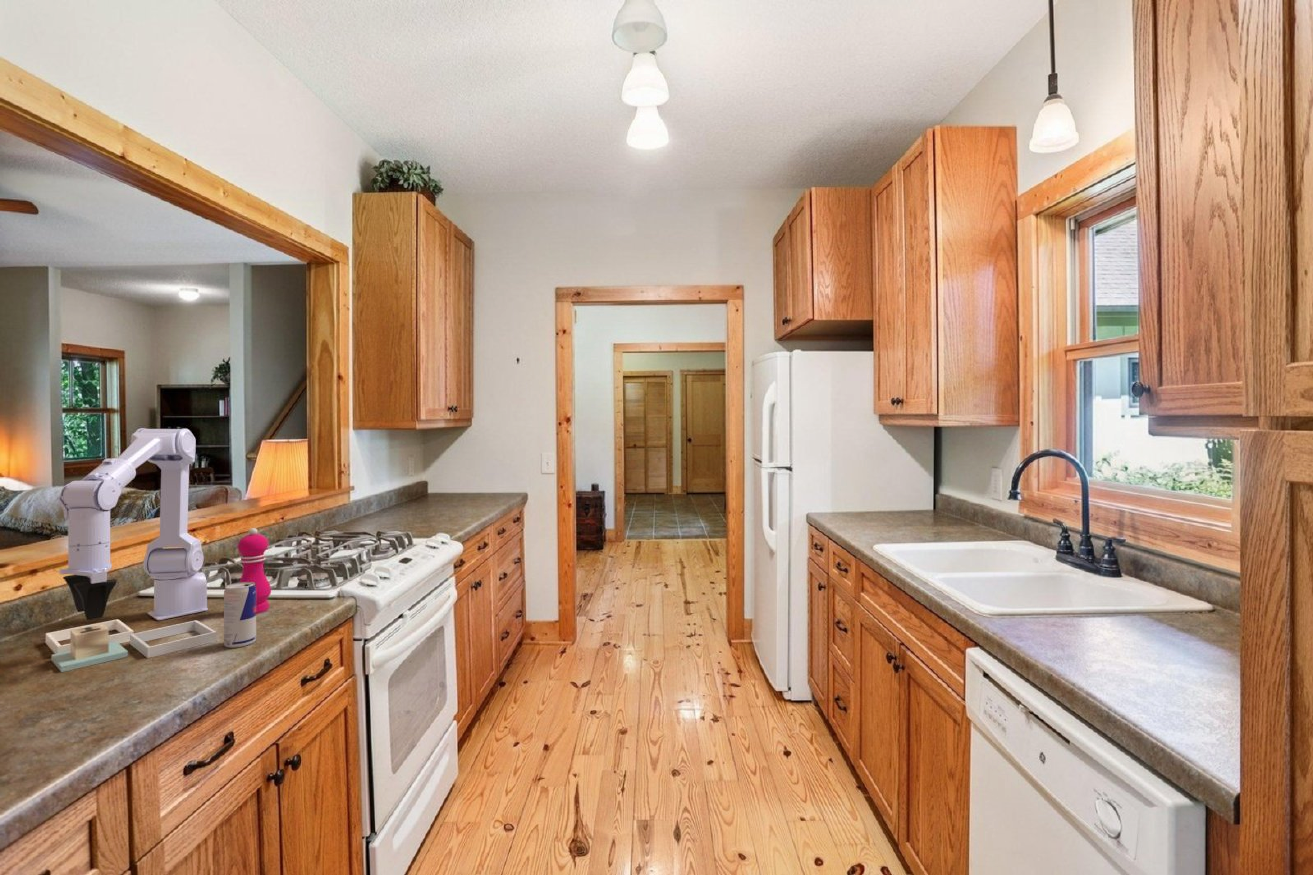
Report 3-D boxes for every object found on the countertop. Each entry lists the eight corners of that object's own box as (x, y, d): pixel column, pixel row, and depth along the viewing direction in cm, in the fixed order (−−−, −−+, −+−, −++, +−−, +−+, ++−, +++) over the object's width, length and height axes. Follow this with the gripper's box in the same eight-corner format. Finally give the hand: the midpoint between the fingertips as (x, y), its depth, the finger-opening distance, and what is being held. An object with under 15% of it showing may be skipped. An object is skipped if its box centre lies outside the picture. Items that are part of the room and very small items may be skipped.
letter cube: (102, 647, 113) (102, 623, 113) (108, 652, 110) (108, 628, 110) (70, 654, 109) (70, 629, 109) (75, 659, 107) (75, 635, 107)
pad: (115, 646, 116) (115, 641, 116) (127, 656, 111) (127, 651, 111) (51, 660, 109) (51, 654, 109) (61, 672, 104) (61, 666, 104)
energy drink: (262, 640, 120) (262, 583, 120) (236, 649, 115) (236, 589, 115) (244, 637, 122) (244, 580, 122) (217, 646, 117) (217, 587, 117)
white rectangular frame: (196, 629, 126) (196, 620, 126) (216, 641, 119) (216, 631, 119) (130, 644, 117) (130, 634, 117) (147, 658, 110) (147, 647, 110)
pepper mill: (236, 617, 134) (236, 531, 134) (233, 610, 140) (233, 527, 139) (273, 611, 139) (273, 528, 139) (268, 604, 144) (268, 524, 144)
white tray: (118, 628, 126) (118, 619, 126) (133, 640, 119) (133, 630, 119) (45, 643, 117) (45, 633, 117) (57, 657, 110) (57, 646, 110)
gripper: (51, 541, 111) (52, 612, 111) (68, 551, 102) (68, 628, 102) (101, 536, 116) (102, 603, 117) (121, 545, 108) (121, 617, 108)
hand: (89, 614), depth 110 cm, fingers open, 7 cm apart
